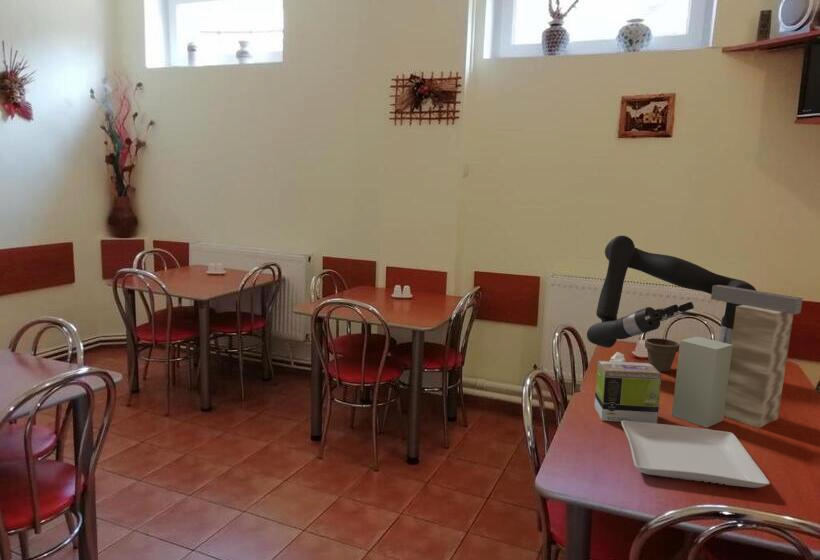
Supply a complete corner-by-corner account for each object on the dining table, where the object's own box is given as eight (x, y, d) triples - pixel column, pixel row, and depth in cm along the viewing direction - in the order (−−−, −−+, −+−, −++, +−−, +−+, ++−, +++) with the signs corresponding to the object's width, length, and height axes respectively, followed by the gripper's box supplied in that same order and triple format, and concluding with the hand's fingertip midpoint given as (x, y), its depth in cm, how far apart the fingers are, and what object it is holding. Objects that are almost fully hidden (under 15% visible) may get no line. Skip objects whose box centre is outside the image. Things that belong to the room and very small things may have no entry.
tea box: (646, 411, 169) (651, 362, 167) (657, 425, 160) (663, 373, 157) (593, 407, 171) (597, 358, 168) (600, 421, 161) (605, 369, 158)
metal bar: (717, 297, 175) (719, 284, 174) (800, 312, 157) (802, 298, 157) (710, 299, 172) (712, 285, 172) (794, 314, 155) (796, 299, 154)
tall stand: (741, 407, 175) (755, 302, 170) (777, 418, 167) (794, 309, 162) (721, 415, 168) (736, 306, 163) (758, 428, 160) (775, 313, 155)
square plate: (730, 444, 150) (732, 430, 149) (769, 500, 124) (772, 483, 123) (619, 431, 156) (620, 417, 155) (633, 481, 130) (635, 464, 129)
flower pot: (639, 362, 216) (642, 336, 215) (672, 365, 214) (675, 338, 213) (645, 372, 205) (648, 344, 204) (680, 375, 203) (683, 347, 201)
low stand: (688, 408, 172) (697, 336, 169) (722, 420, 165) (732, 344, 161) (671, 415, 167) (680, 340, 163) (706, 427, 159) (716, 349, 155)
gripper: (624, 313, 190) (668, 296, 177) (649, 309, 198) (692, 292, 186) (632, 335, 188) (677, 320, 176) (657, 330, 196) (701, 315, 184)
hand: (685, 306), depth 181 cm, fingers open, 8 cm apart
